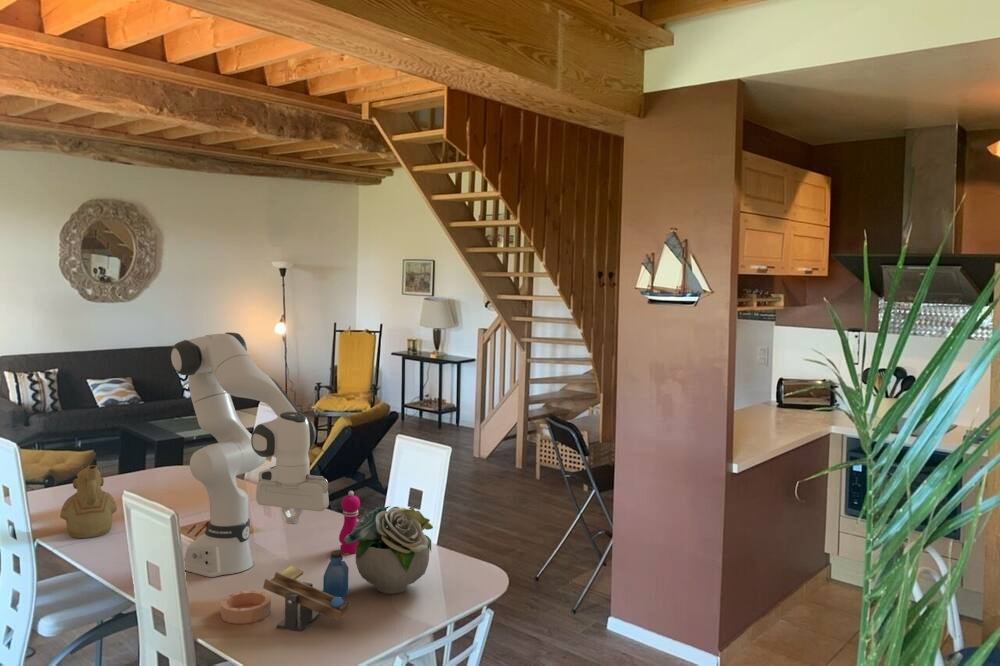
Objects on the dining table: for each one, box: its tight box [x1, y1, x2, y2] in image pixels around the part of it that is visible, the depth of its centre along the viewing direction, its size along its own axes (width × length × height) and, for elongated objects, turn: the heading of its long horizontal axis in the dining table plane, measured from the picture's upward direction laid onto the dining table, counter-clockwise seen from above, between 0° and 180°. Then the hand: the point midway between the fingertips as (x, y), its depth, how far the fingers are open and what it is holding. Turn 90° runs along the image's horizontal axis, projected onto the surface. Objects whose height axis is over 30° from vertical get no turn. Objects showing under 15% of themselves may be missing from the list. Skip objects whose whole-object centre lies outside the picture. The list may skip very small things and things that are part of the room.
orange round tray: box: [220, 590, 272, 625], centre depth 197 cm, size 12×12×4 cm
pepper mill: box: [338, 490, 361, 555], centre depth 244 cm, size 7×7×20 cm
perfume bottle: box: [322, 549, 349, 598], centre depth 211 cm, size 6×6×12 cm
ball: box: [331, 597, 344, 610], centre depth 190 cm, size 3×3×3 cm
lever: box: [262, 565, 351, 621], centre depth 196 cm, size 22×14×3 cm, turn 76°
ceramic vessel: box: [59, 464, 118, 539], centre depth 254 cm, size 17×20×25 cm
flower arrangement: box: [344, 506, 434, 595], centre depth 215 cm, size 25×25×24 cm
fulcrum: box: [276, 581, 321, 633], centre depth 193 cm, size 7×10×9 cm
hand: (292, 523), depth 201 cm, fingers closed
